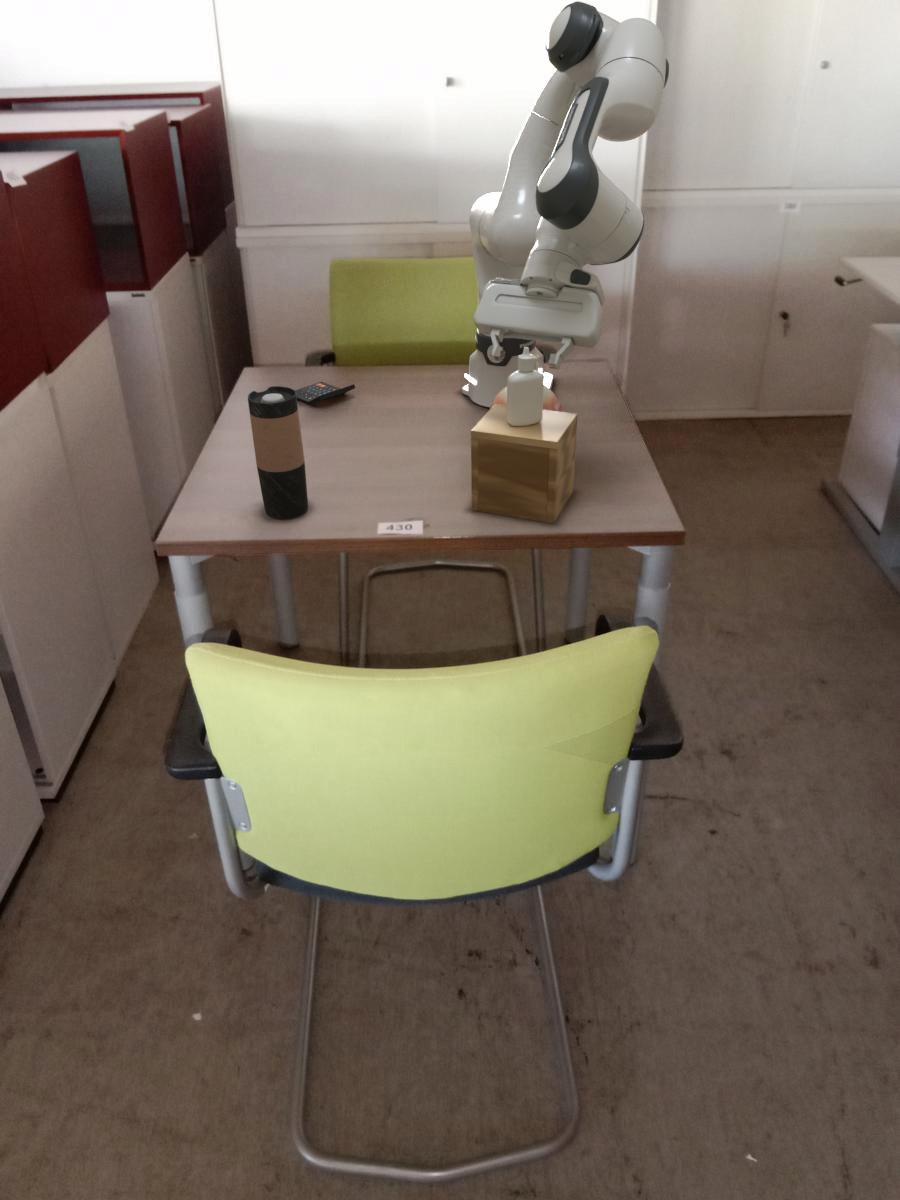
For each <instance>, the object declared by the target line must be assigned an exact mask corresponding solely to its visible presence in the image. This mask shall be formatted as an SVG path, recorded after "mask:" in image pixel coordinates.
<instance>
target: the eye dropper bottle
mask: <svg viewBox="0 0 900 1200" xmlns="http://www.w3.org/2000/svg"><path fill="white" fill-rule="evenodd" d="M533 369H534V356H533V355H531V354H530V353H529V347H524V350H523V354H521V355H519V356H518V370H517V371H516V372H514V373H512V374H511V375H510V376H509V377H508V380H507V422H508V423H509V424H510V425H512V426H528V425H532V424H536V423H538V422H540V421H541V420H542V415H543V384H544V379H543V375H542V374H541V373H540V372H539V371H537V370H533Z"/></svg>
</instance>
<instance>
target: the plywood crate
mask: <svg viewBox="0 0 900 1200" xmlns="http://www.w3.org/2000/svg"><path fill="white" fill-rule="evenodd" d="M489 410H490V411H489ZM489 410H488V411H487V412H486V414H484V416H483V417H482V418H481V419H480V420H479V421H478V422H477V423H476V425H474V426H473V427H472V429H470V462H471V463H470V467H471V468H470V469H471V470H470V471H471V473H470V474H471V476H470V477H471V481H470V482H471V483H470V485H471V488H470V489H471V491H470V492H471V511H475V512H481V513H482V512H483V513H489V514H494V515H501V516H506V517H507V516H508V517H513V518H520V519H526V520H531V521H537V522H544V523H549V524H554V523H555V521H556V520H557V519H558V517H559V516H560V513H561V512H562V510H563V508H564V507H565V505H566V504H567V502H568V500H569V499H570V497H571V495H572V494H573V492H574V482H575V466H576V465H575V463H576V445H577V429H578V413H575V412H566V411H562V412H559V411H551V410H543V415H542V420H541V421H540V422H538V423H536V424H532V425H528V426H512V425H510V424H509V423H508V422H507V405H502V404H495V405H494V406H493V407H492V408H491V409H490V408H489Z"/></svg>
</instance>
